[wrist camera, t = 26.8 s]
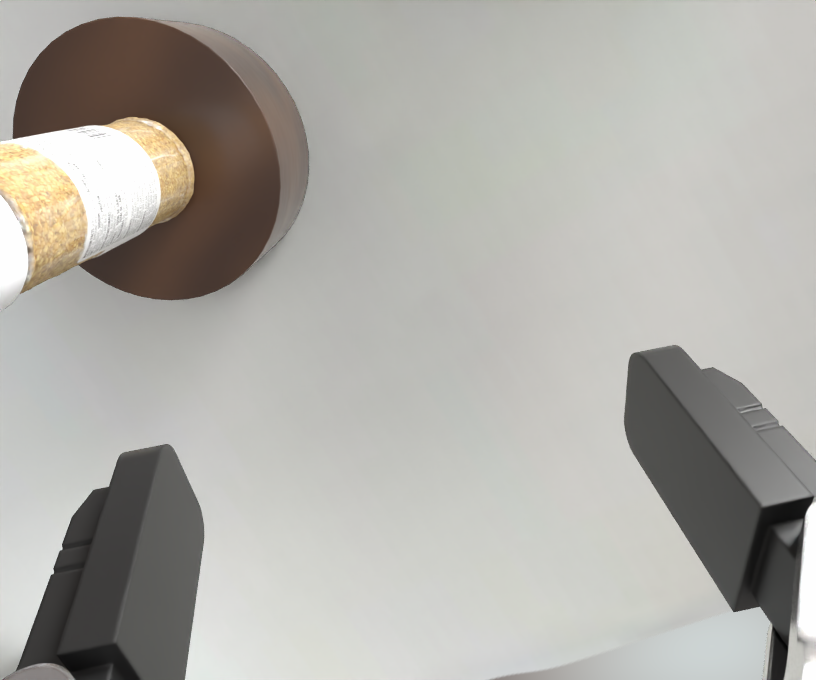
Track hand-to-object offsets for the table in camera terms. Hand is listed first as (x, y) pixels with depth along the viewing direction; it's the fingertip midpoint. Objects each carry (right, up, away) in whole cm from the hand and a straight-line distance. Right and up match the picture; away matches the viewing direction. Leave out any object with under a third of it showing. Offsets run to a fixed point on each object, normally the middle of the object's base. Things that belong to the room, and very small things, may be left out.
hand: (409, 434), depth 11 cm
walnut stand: (-11, +11, +21) cm, 26 cm away
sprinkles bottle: (-11, +9, +17) cm, 22 cm away
